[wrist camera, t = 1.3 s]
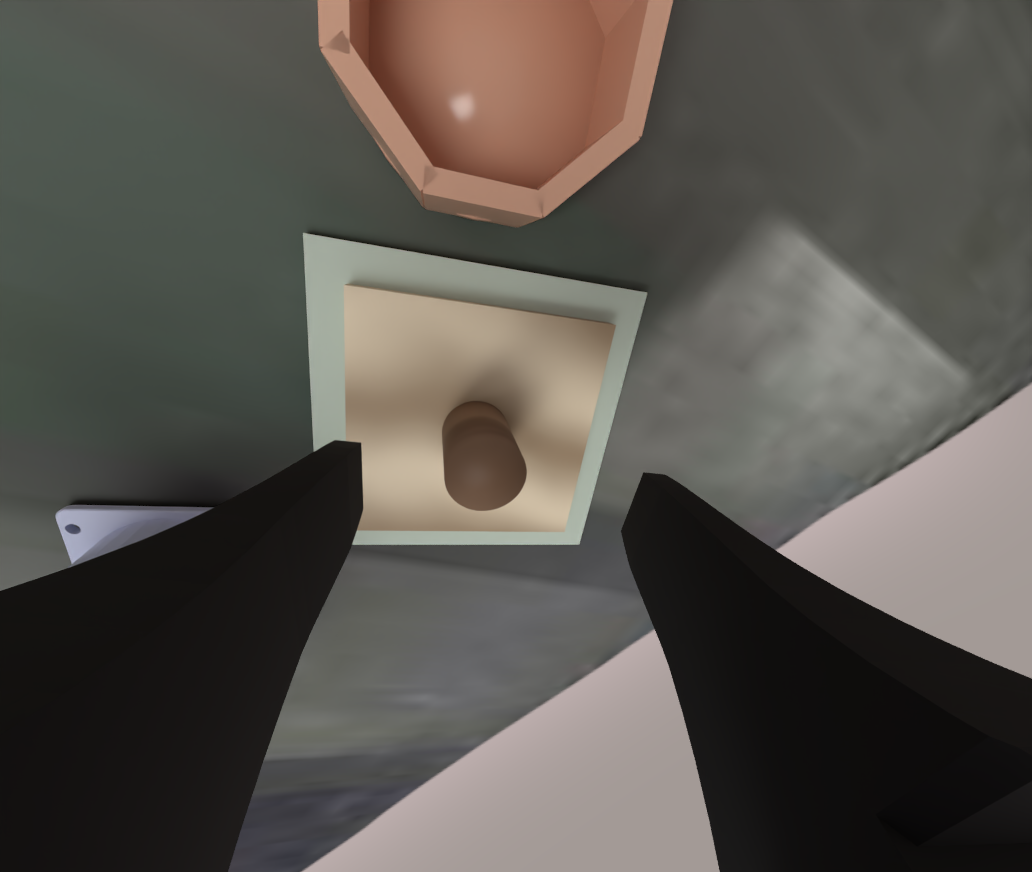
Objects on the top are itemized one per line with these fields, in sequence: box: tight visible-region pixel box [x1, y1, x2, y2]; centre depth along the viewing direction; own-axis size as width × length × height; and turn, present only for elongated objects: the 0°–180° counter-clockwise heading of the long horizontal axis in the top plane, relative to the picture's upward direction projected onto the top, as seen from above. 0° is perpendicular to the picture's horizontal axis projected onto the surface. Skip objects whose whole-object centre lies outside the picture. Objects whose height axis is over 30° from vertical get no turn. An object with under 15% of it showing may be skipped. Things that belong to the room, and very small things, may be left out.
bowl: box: [318, 0, 673, 228], centre depth 12 cm, size 9×9×4 cm
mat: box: [303, 233, 647, 545], centre depth 18 cm, size 14×14×1 cm
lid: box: [344, 284, 616, 532], centre depth 16 cm, size 11×11×5 cm
